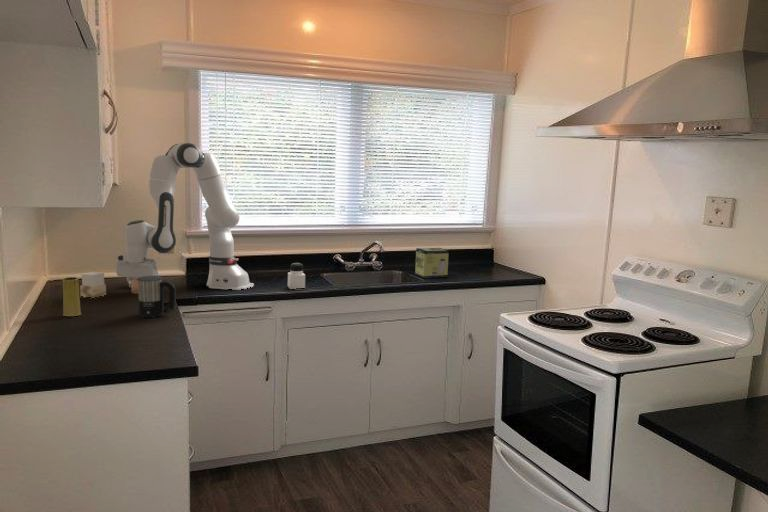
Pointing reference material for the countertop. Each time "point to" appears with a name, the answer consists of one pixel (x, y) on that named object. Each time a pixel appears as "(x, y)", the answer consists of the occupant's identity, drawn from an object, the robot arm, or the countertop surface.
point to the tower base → (93, 291)
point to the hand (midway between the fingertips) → (137, 287)
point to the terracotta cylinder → (134, 286)
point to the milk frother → (154, 296)
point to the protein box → (431, 262)
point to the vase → (71, 297)
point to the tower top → (93, 279)
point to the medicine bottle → (296, 276)
